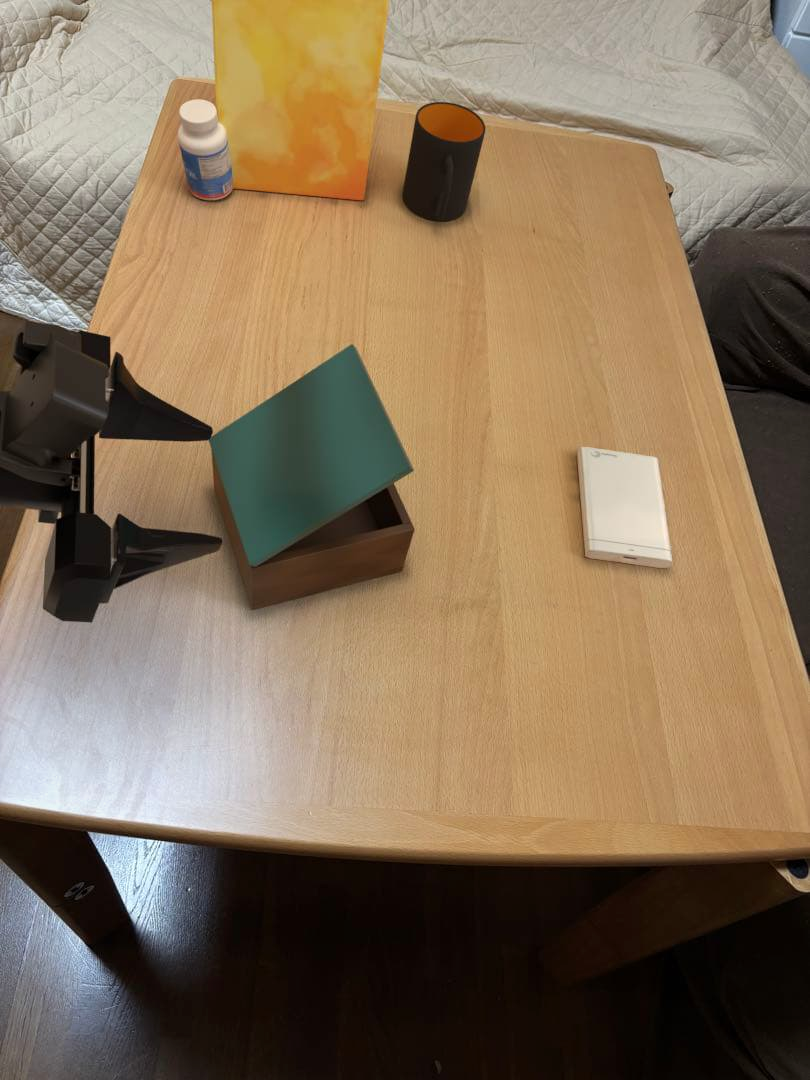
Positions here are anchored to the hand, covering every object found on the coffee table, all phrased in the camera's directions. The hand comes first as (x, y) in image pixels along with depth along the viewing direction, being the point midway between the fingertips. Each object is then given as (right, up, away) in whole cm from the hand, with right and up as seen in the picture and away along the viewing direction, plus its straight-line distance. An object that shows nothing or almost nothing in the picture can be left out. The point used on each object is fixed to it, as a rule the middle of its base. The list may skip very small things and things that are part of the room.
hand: (215, 486), depth 53 cm
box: (+4, -3, +18) cm, 18 cm away
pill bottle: (-10, +39, +42) cm, 57 cm away
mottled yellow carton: (-1, +44, +47) cm, 64 cm away
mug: (+16, +38, +47) cm, 62 cm away
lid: (+5, +3, +8) cm, 10 cm away
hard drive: (+34, -1, +25) cm, 42 cm away
